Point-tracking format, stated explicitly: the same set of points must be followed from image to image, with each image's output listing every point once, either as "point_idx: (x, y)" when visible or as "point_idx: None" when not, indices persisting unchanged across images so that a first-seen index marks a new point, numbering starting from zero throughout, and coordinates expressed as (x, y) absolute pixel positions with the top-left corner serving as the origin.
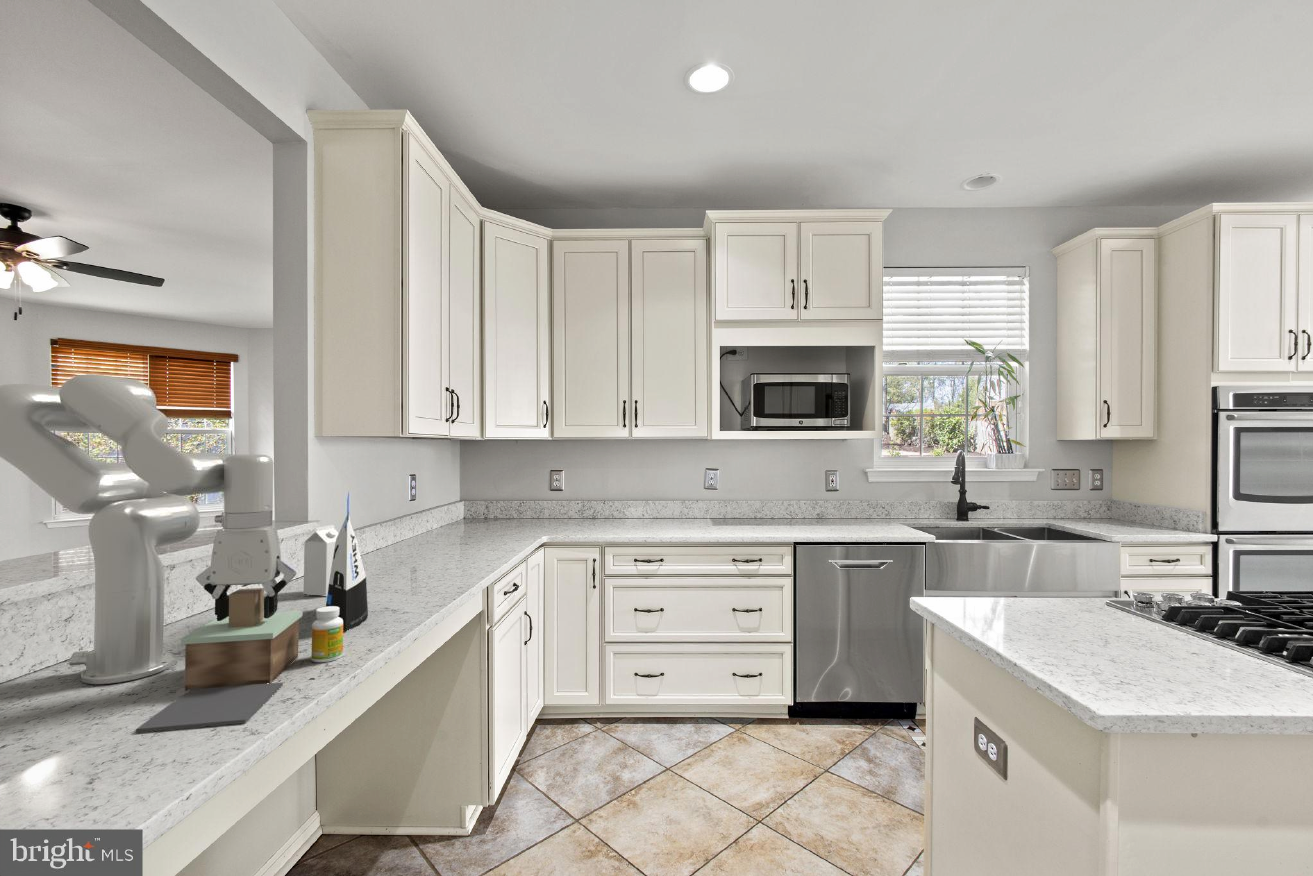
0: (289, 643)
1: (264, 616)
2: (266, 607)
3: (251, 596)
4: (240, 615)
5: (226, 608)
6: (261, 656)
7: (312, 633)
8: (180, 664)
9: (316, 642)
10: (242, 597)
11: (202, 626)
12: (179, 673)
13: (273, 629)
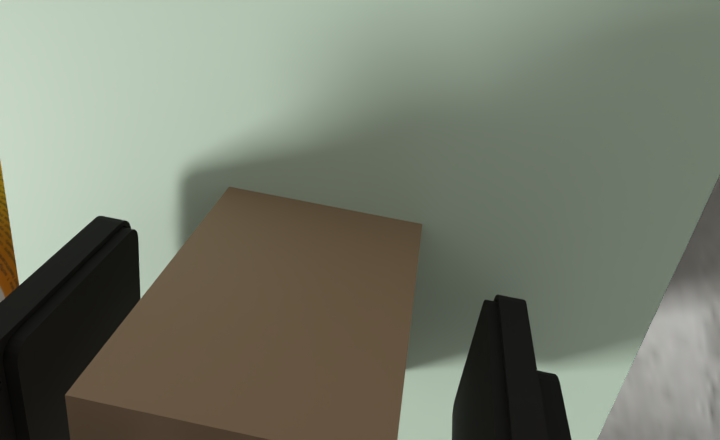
0: None
1: (124, 231)
2: (56, 270)
3: (124, 371)
4: (309, 258)
5: (466, 427)
6: None
7: (7, 249)
8: (692, 377)
9: (5, 198)
10: (233, 385)
11: (638, 338)
12: (682, 258)
13: (13, 7)
